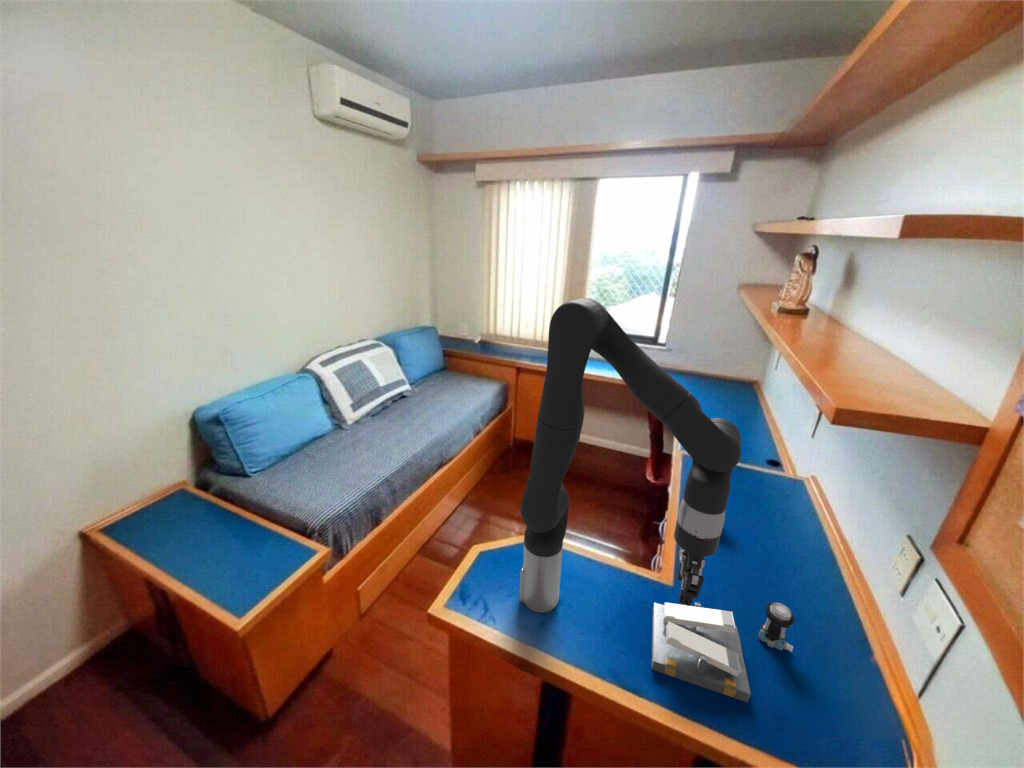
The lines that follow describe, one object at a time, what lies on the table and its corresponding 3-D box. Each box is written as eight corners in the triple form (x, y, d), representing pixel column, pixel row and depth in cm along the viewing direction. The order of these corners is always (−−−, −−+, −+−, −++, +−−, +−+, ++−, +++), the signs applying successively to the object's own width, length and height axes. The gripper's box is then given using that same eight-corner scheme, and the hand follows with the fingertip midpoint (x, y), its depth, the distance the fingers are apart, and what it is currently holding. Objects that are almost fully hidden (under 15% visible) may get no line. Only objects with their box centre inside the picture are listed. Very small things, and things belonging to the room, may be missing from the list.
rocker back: (665, 622, 87) (664, 616, 87) (665, 607, 91) (664, 601, 90) (735, 633, 82) (735, 626, 82) (732, 617, 86) (732, 611, 85)
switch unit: (651, 670, 81) (656, 647, 79) (652, 610, 94) (656, 589, 92) (747, 703, 75) (756, 680, 73) (734, 634, 89) (741, 613, 86)
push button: (792, 643, 87) (804, 611, 84) (790, 662, 83) (803, 629, 80) (758, 626, 91) (768, 594, 87) (755, 643, 87) (765, 611, 83)
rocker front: (666, 642, 80) (669, 637, 79) (665, 625, 83) (669, 620, 83) (737, 676, 77) (741, 671, 76) (733, 657, 80) (737, 652, 79)
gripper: (676, 495, 79) (663, 560, 84) (679, 543, 66) (664, 615, 72) (716, 504, 76) (700, 570, 82) (728, 555, 64) (708, 629, 69)
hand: (683, 591), depth 77 cm, fingers open, 5 cm apart
